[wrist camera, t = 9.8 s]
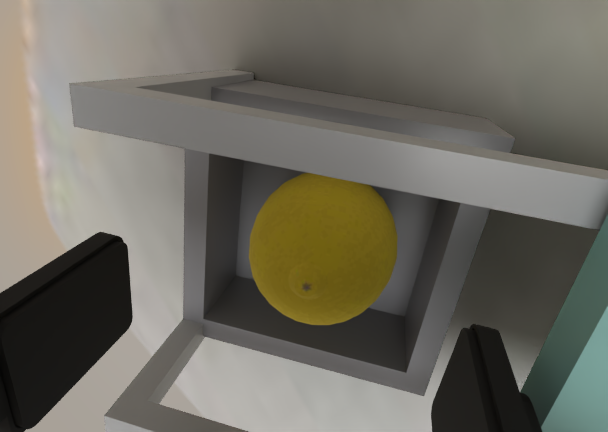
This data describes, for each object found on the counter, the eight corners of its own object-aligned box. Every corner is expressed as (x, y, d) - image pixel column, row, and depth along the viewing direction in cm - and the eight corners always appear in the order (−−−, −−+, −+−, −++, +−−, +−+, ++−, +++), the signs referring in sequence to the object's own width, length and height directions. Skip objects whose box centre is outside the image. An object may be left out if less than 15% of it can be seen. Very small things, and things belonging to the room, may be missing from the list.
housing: (233, 69, 18) (69, 83, 9) (831, 166, 15) (1535, 345, 6) (221, 285, 23) (106, 435, 14) (667, 397, 19) (902, 694, 10)
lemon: (324, 288, 20) (290, 397, 12) (258, 202, 20) (180, 261, 12) (418, 230, 18) (443, 314, 11) (348, 134, 18) (324, 152, 10)
